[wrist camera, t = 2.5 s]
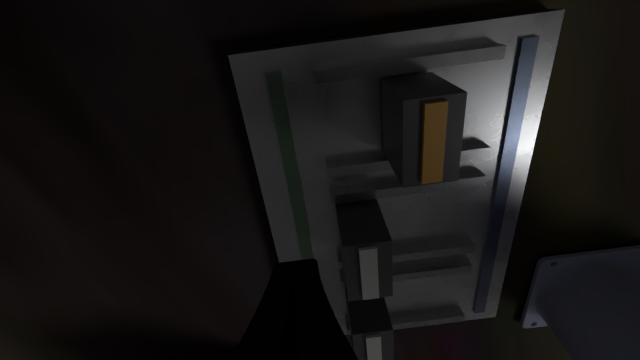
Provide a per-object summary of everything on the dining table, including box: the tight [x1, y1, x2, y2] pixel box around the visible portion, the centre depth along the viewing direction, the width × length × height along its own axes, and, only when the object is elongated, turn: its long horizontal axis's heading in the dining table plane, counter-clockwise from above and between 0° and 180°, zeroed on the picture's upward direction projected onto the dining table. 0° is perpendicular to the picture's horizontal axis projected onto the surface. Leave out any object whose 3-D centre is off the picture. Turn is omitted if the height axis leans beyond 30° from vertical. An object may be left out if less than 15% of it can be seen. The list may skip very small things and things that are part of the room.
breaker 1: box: [335, 199, 393, 301], centre depth 19 cm, size 2×4×4 cm, turn 7°
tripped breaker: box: [381, 72, 467, 188], centre depth 15 cm, size 2×4×4 cm, turn 7°
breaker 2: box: [345, 288, 394, 360], centre depth 22 cm, size 2×4×4 cm, turn 7°
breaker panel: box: [228, 9, 565, 335], centre depth 21 cm, size 16×22×2 cm
